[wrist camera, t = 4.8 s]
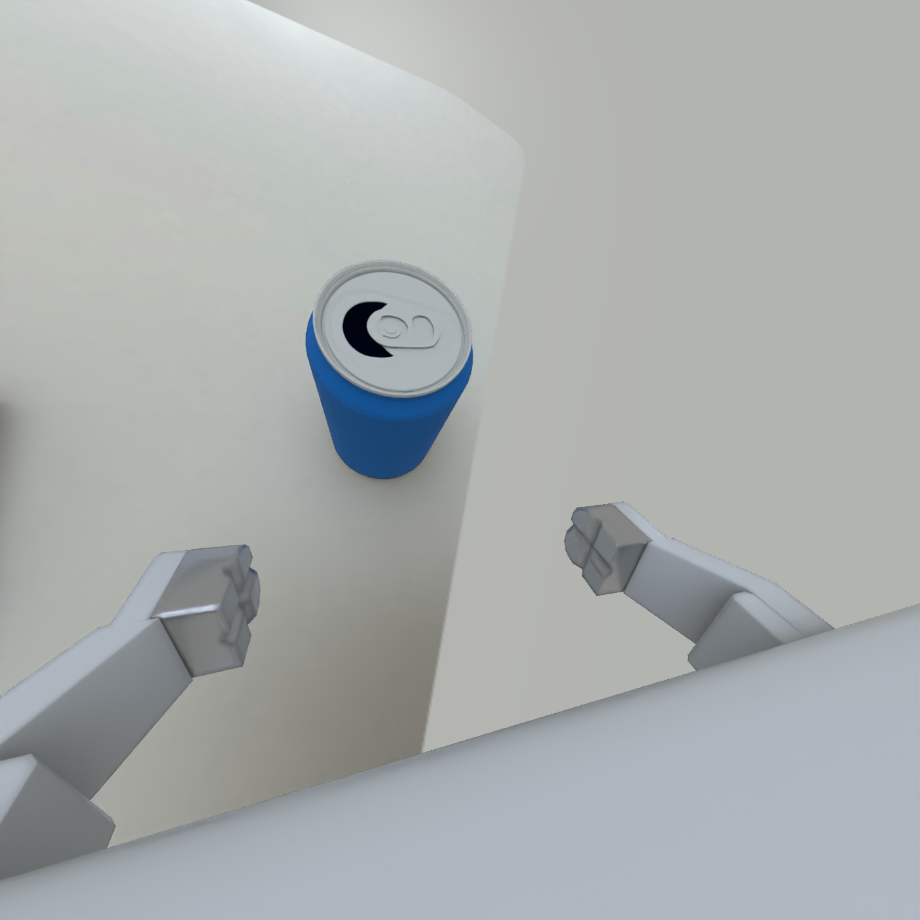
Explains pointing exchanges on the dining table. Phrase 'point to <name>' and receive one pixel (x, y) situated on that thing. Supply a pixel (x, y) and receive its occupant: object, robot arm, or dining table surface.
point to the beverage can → (387, 362)
